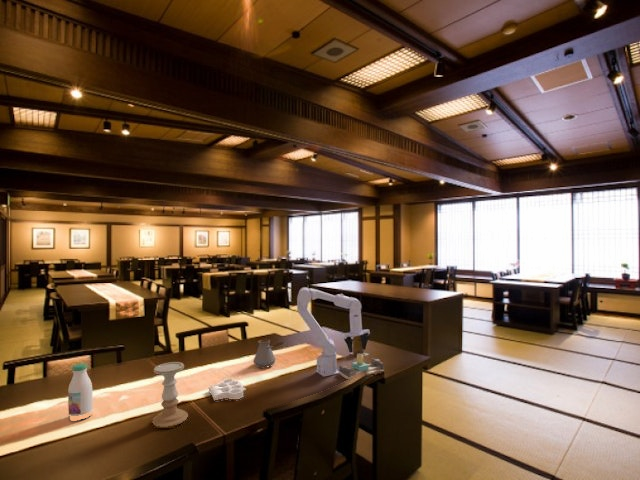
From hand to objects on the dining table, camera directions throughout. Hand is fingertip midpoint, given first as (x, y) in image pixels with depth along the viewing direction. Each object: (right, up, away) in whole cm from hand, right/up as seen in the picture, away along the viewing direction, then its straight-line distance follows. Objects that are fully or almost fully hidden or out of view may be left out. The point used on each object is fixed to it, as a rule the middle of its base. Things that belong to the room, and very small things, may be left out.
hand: (357, 350), depth 180 cm
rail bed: (+2, -10, -2) cm, 11 cm away
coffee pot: (-44, -11, +8) cm, 46 cm away
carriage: (+1, -8, -3) cm, 8 cm away
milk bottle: (-110, -13, -41) cm, 118 cm away
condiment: (+4, -10, +27) cm, 29 cm away
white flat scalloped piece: (-58, -12, -22) cm, 64 cm away
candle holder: (-74, -12, -46) cm, 88 cm away
